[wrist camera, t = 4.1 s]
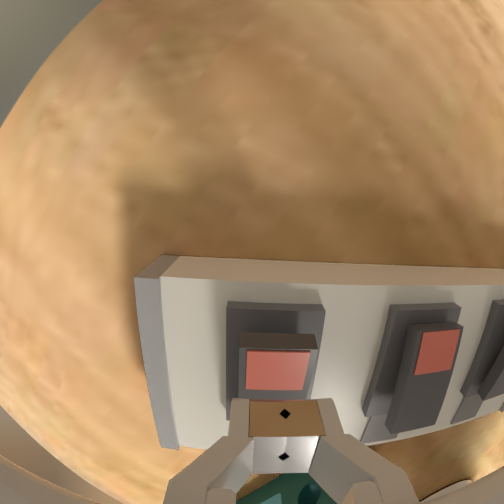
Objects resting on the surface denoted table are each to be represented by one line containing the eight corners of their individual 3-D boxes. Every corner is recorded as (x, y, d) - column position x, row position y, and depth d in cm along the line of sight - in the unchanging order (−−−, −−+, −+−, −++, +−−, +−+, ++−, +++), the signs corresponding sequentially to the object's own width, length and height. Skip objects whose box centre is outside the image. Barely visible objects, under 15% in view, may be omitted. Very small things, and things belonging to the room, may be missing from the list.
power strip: (486, 384, 20) (510, 411, 15) (174, 406, 20) (159, 451, 15) (525, 269, 17) (561, 285, 13) (161, 254, 17) (130, 279, 13)
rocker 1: (295, 418, 14) (296, 434, 13) (238, 417, 14) (237, 433, 13) (314, 333, 12) (318, 350, 11) (240, 331, 12) (239, 348, 11)
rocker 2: (427, 416, 13) (435, 425, 12) (384, 424, 13) (391, 435, 12) (453, 321, 13) (464, 326, 12) (408, 324, 13) (418, 331, 12)
